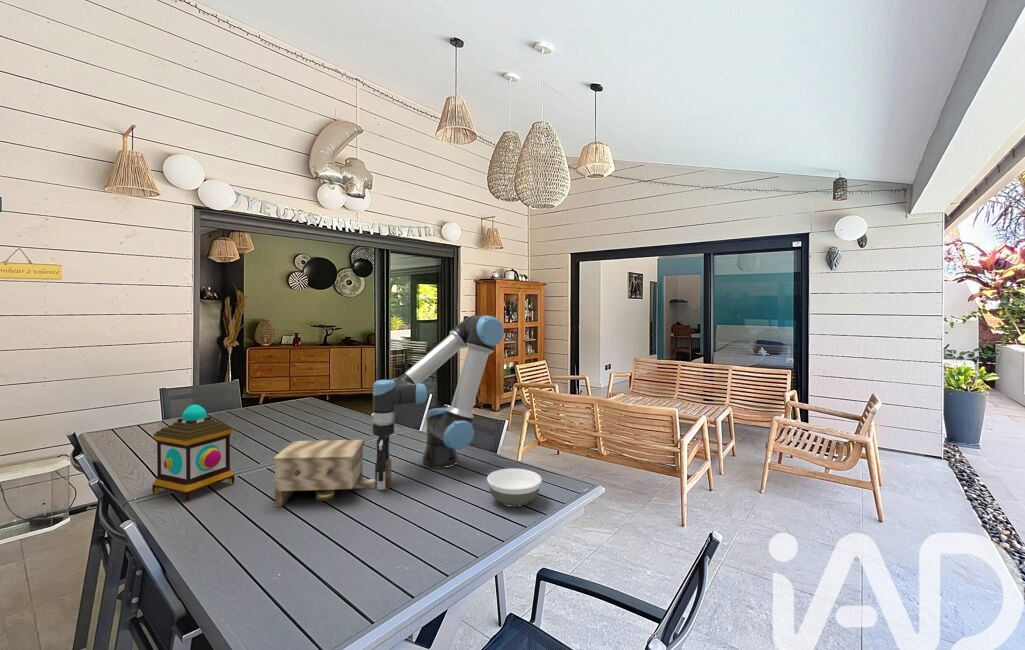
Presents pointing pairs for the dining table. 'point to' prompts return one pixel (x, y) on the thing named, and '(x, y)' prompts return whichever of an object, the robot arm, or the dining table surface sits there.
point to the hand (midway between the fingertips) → (382, 485)
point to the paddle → (373, 482)
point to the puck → (325, 495)
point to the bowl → (514, 486)
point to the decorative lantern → (192, 453)
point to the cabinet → (317, 466)
